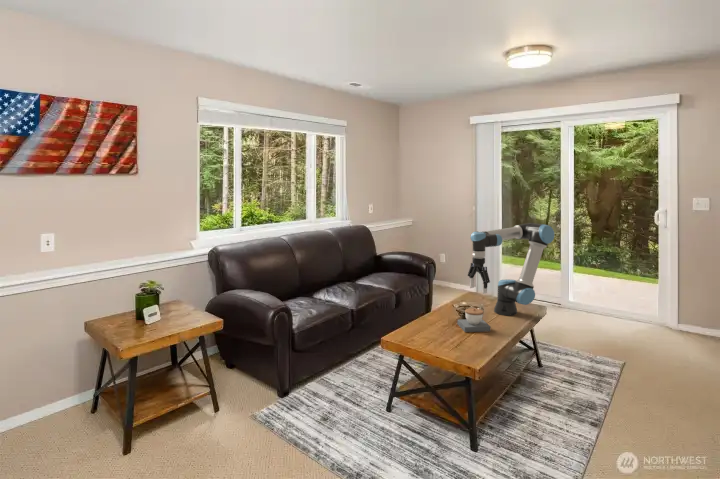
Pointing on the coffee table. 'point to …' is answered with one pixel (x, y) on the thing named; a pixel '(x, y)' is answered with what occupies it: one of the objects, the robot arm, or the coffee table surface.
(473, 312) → the lidded jar
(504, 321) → the coffee table surface
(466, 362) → the coffee table surface
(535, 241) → the robot arm
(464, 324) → the block
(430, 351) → the coffee table surface
